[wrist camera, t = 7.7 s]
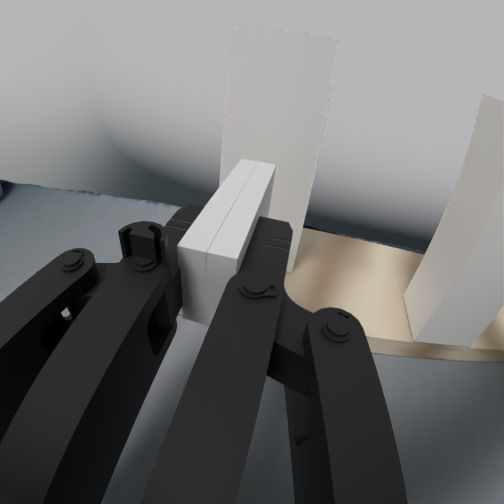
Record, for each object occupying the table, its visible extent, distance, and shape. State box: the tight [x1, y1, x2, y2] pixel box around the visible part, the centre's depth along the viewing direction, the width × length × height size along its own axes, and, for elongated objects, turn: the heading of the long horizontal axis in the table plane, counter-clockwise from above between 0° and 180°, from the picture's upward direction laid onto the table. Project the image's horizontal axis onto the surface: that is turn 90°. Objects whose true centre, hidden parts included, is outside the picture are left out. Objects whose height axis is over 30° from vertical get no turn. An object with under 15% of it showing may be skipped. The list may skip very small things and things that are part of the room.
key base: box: [179, 228, 504, 362], centre depth 19 cm, size 36×10×2 cm, turn 79°
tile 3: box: [219, 27, 339, 273], centre depth 16 cm, size 5×4×14 cm
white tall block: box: [403, 95, 504, 347], centre depth 12 cm, size 5×4×14 cm
